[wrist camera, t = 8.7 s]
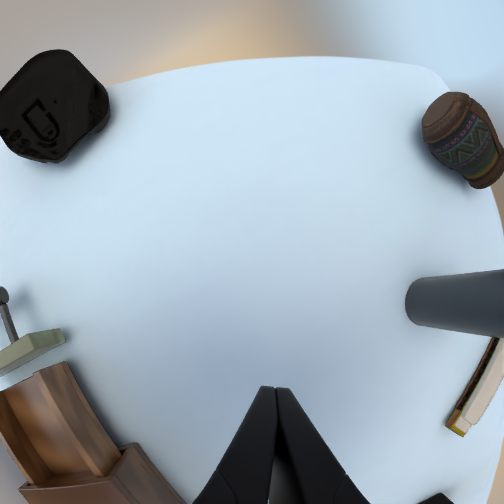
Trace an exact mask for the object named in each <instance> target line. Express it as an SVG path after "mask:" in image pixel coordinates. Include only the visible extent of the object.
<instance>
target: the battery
mask: <svg viewBox="0 0 504 504" xmlns="http://www.w3.org/2000/svg"><path fill="white" fill-rule="evenodd" d="M421 504H454V503H453V502H452V501H450V500H449V499H448V498H447V497H446V496H445V495H444V494H442V493H440V494H438V495H436V496H434V497H432V498H430V499H429V500H427V501H425V502H423V503H421Z"/></svg>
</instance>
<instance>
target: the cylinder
mask: <svg viewBox="0 0 504 504" xmlns="http://www.w3.org/2000/svg"><path fill="white" fill-rule="evenodd" d="M405 306H406V312H407V315H408V317H409V318H410V320H411V321H412V322H413V323H415V324H417V325H420V326H426V327H432V328H438V329H444V330H450V331H457V332H463V333H470V334H476V335H483V336H490V337H498V338H504V269H501V270H492V271H484V272H475V273H466V274H456V275H446V276H435V277H425V278H420V279H418V280H416V281H415V282H414V283H413V284H412V285H411V286H410V288H409V290H408V292H407V295H406V301H405Z"/></svg>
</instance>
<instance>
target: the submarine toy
mask: <svg viewBox="0 0 504 504" xmlns="http://www.w3.org/2000/svg"><path fill="white" fill-rule="evenodd" d="M109 117H110V103H109V97H108V93H107V91H106V89H105V88H104V86H103V85H102V84H101V83H100V82H99V81H98V80H97V79H96V78H95V77H94V76H93V75H92V74H91V73H90V72H89V71H88V70H87V69H86V68H85V67H84V65H83V64H82V63H81V62H80V61H79V60H78V59H77V58H76V57H75V56H74V55H73V54H72V53H71V52H69V51H67V50H60V49H59V50H49V51H45V52H42V53H39V54H37V55H36V56H34V57H33V58H31V59H30V60H29V61H27V63H25V64H24V65H23V67H22V68H21V69H20V70H19V71H18V72H17V73H16V74H15V75H14V76H13V77H12V79H11V80H10V81H9V82H8V83H7V84H6V85H5V86H4V87H3V88H2V90H1V91H0V136H1V137H2V139H3V140H4V142H5V144H6V145H7V147H8V148H9V149H10V150H11V151H12V152H14V153H16V154H17V155H18V156H21V157H24V158H27V159H30V160H34V161H39V162H42V163H47V162H51V163H59V162H61V161H63V160H64V159H65V158H66V157H67V156H68V155H69V153H70V152H71V151H72V150H73V148H74V147H75V146H76V145H77V144H78V143H79V142H80V141H82V140H83V139H84V138H85V137H86V136H88V135H90V134H92V133H97V132H99V131H101V130H102V129H103V128H104V127H105V125H106V124H107V122H108V120H109Z"/></svg>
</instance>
